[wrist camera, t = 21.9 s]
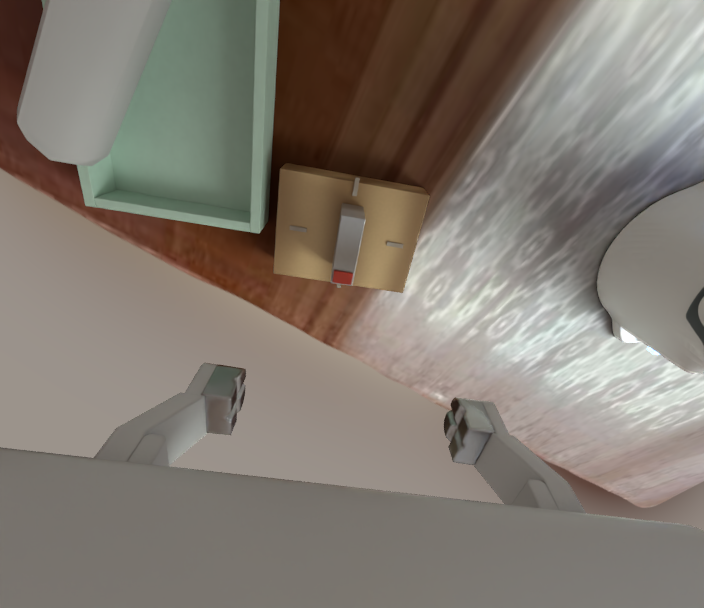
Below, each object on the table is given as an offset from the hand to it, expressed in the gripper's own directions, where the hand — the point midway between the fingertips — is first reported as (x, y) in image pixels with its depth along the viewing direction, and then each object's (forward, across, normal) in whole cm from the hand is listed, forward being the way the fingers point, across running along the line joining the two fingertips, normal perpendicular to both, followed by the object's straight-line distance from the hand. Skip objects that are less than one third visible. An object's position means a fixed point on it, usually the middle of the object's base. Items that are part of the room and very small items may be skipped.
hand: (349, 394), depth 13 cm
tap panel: (+21, 0, 0) cm, 21 cm away
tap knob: (+18, 0, 0) cm, 18 cm away
